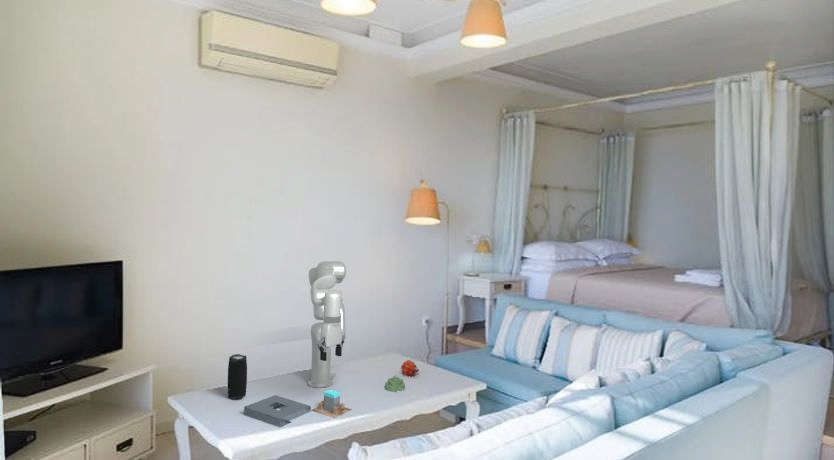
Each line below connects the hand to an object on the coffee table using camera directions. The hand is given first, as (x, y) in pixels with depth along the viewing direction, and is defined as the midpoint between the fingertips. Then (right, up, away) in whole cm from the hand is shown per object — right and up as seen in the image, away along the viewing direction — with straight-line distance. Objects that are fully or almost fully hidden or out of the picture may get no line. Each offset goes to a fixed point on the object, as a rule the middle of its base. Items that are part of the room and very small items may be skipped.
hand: (330, 358), depth 242 cm
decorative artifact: (+27, -24, +35) cm, 50 cm away
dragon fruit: (+34, -23, +57) cm, 71 cm away
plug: (0, -23, +1) cm, 23 cm away
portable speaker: (-47, -22, +15) cm, 54 cm away
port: (-23, -24, -4) cm, 33 cm away
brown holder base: (0, -24, +1) cm, 24 cm away
